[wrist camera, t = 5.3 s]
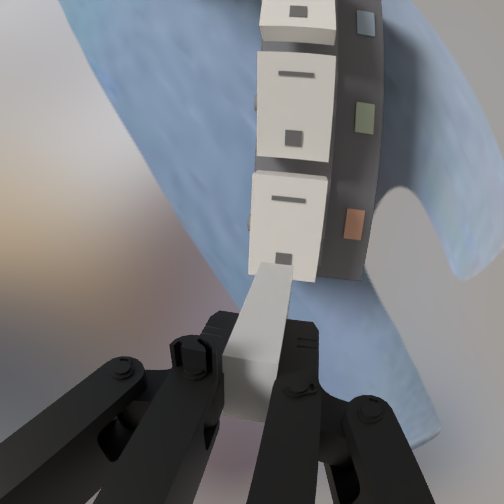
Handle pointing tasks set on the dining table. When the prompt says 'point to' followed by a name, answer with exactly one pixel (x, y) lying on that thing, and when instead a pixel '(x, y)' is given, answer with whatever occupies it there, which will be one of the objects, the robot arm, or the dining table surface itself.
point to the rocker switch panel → (346, 136)
